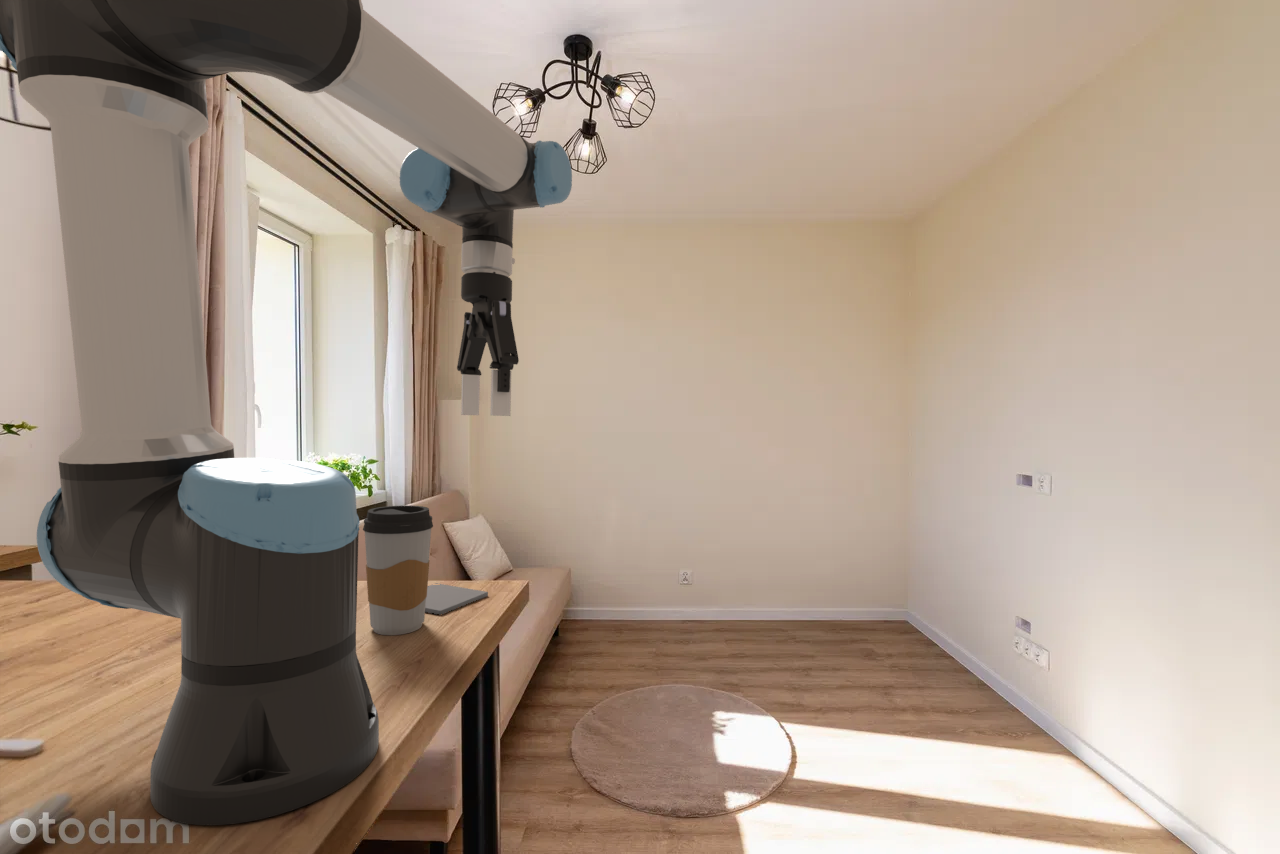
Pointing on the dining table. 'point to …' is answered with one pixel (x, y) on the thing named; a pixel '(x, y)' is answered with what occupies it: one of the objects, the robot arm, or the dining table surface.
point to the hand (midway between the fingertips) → (484, 415)
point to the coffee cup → (397, 567)
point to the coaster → (449, 598)
